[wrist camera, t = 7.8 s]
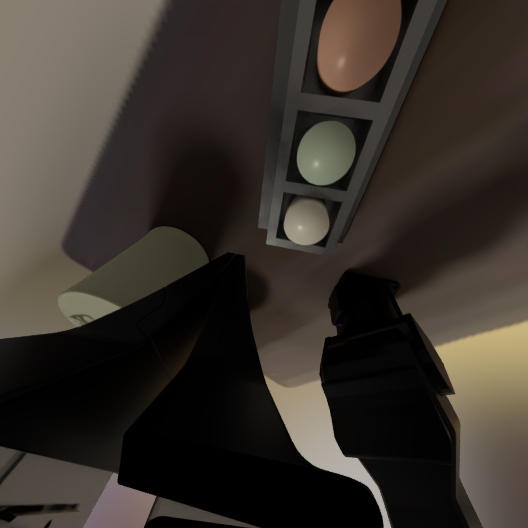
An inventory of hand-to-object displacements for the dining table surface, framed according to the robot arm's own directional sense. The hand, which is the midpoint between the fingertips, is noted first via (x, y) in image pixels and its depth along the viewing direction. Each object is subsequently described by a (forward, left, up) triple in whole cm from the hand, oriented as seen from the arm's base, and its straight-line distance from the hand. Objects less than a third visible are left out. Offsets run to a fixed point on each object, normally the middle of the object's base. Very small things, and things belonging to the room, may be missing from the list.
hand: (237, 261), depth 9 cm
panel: (-4, -4, -12) cm, 13 cm away
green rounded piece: (-4, -4, -11) cm, 12 cm away
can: (+12, +11, -12) cm, 20 cm away
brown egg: (-4, -9, -11) cm, 15 cm away
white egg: (-4, +1, -11) cm, 12 cm away
